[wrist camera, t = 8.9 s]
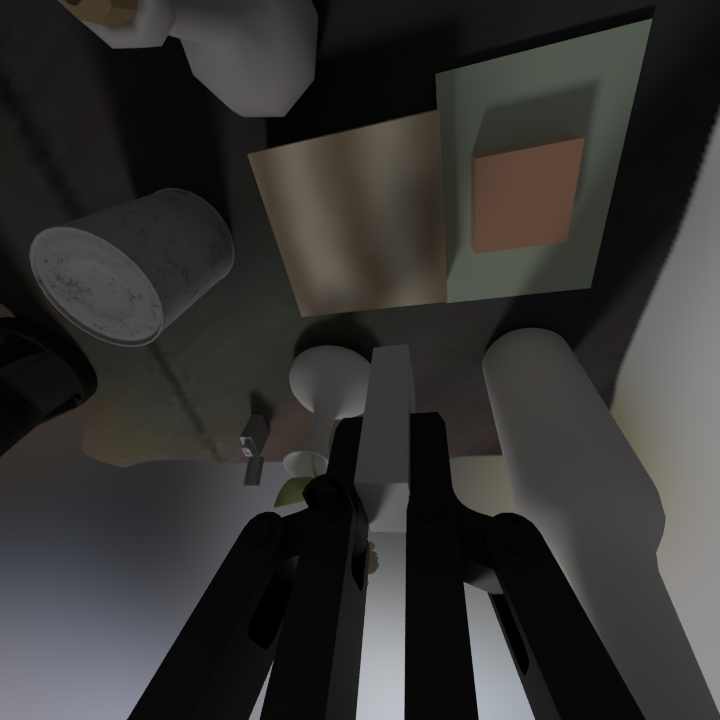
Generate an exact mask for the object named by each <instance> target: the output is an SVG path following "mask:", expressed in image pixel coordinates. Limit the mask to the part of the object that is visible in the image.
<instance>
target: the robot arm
mask: <svg viewBox="0 0 720 720" xmlns="http://www.w3.org/2000/svg"><path fill="white" fill-rule="evenodd" d="M96 389H97V380H96V377H95V374H94V372H93V370H92V368H91V367H90V365H89V364H88V362H87V361H86V360H85V359H84V357H83V356H82V355H81V354H80V353H79V352H78V351H77V350H76V349H75V348H74V347H72V346H71V345H70V344H69V343H68V342H66V341H65V340H64V339H62V338H61V337H59V336H58V335H56V334H55V333H53V332H51V331H49V330H48V329H46V328H44V327H42V326H39V325H37V324H35V323H32V322H29V321H26V320H23V319H19V318H12V317H3V318H0V457H1V456H2V455H4V454H5V453H6V452H7V451H8V450H9V449H11V448H12V447H13V446H14V445H15V444H16V443H18V442H19V441H20V440H21V439H22V438H23V437H24V436H26V435H27V434H28V433H29V432H30V431H32V430H33V429H34V428H35V427H37V426H38V425H40V424H43V423H45V422H47V421H49V420H51V419H53V418H55V417H57V416H60V415H62V414H64V413H66V412H68V411H71V410H73V409H75V408H77V407H79V406H80V405H82V404H83V403H84V402H86V401H87V400H88V399H89V398H90V397H91V396H92V395H93V394H94V393H95V391H96ZM302 495H303V497H304V499H305V501H306V503H307V505H308V508H307V509H304V510H302V511H300V512H297V513H294V514H291V515H288V516H285V517H282V518H281V516H280V515H278V514H276V513H274V512H264V513H261V514H258V515H257V516H255V517H254V518H252V519H251V520H250V521H249V522H248V524H247V525H246V526H245V527H244V529H243V531H242V532H241V534H240V535H239V537H238V539H237V540H236V542H235V543H234V545H233V547H232V548H231V550H230V552H229V553H228V555H227V557H226V558H225V560H224V561H223V563H222V565H221V566H220V568H219V570H218V571H217V573H216V575H215V576H214V578H213V580H212V581H211V583H210V585H209V586H208V588H207V590H206V591H205V593H204V594H203V596H202V598H201V599H200V601H199V603H198V604H197V606H196V608H195V609H194V611H193V613H192V614H191V616H190V617H189V619H188V621H187V622H186V624H185V626H184V627H183V629H182V631H181V632H180V634H179V636H178V637H177V639H176V640H175V642H174V644H173V645H172V647H171V649H170V650H169V652H168V653H167V655H166V657H165V659H164V660H163V662H162V663H161V665H160V667H159V668H158V670H157V672H156V673H155V675H154V677H153V678H152V680H151V681H150V683H149V685H148V686H147V688H146V690H145V691H144V693H143V695H142V696H141V698H140V699H139V701H138V703H137V704H136V706H135V708H134V709H133V711H132V713H131V714H130V716H129V718H128V719H127V720H249V717H250V715H251V713H252V710H253V708H254V705H255V703H256V701H257V698H258V696H259V694H260V691H261V689H262V686H263V684H264V681H265V679H266V677H267V674H268V672H269V670H270V667H271V665H272V663H273V666H272V670H271V674H270V678H269V683H268V687H267V691H266V695H265V699H264V703H263V707H262V712H261V716H260V720H356V709H357V697H358V685H359V674H360V662H361V650H362V638H363V627H364V615H365V603H366V590H367V579H368V568H369V556H370V548H369V542H368V540H367V537H368V527H370V529H371V531H372V532H406V611H405V612H406V613H405V619H406V620H405V623H406V624H405V719H404V720H479V719H478V710H477V700H476V691H475V683H474V673H473V664H472V656H471V647H470V637H469V628H468V619H467V610H466V601H465V593H464V583H463V582H466V583H468V584H470V585H473V586H475V587H477V588H480V589H482V590H484V591H487V592H488V595H489V598H490V600H491V603H492V605H493V608H494V611H495V613H496V616H497V619H498V622H499V624H500V627H501V629H502V632H503V635H504V638H505V640H506V643H507V645H508V648H509V651H510V653H511V656H512V659H513V661H514V664H515V667H516V669H517V672H518V675H519V677H520V680H521V683H522V685H523V688H524V690H525V693H526V696H527V699H528V701H529V704H530V706H531V709H532V712H533V715H534V717H535V720H646V719H645V717H644V715H643V714H642V712H641V710H640V708H639V707H638V705H637V703H636V701H635V699H634V698H633V696H632V694H631V692H630V691H629V689H628V687H627V685H626V683H625V682H624V680H623V678H622V676H621V675H620V673H619V671H618V669H617V668H616V666H615V664H614V662H613V660H612V659H611V657H610V655H609V653H608V652H607V650H606V648H605V646H604V644H603V643H602V641H601V639H600V637H599V636H598V634H597V632H596V630H595V628H594V627H593V625H592V623H591V621H590V620H589V618H588V616H587V614H586V612H585V611H584V609H583V607H582V605H581V604H580V602H579V600H578V598H577V597H576V595H575V593H574V591H573V589H572V588H571V586H570V584H569V582H568V581H567V579H566V577H565V575H564V573H563V572H562V570H561V568H560V566H559V565H558V563H557V561H556V559H555V557H554V556H553V554H552V552H551V550H550V549H549V547H548V545H547V543H546V541H545V540H544V538H543V536H542V534H541V533H540V531H539V530H538V529H537V528H536V526H535V525H534V524H533V523H532V522H531V521H529V520H528V519H526V518H525V517H523V516H521V515H518V514H514V513H500V514H498V515H496V516H494V517H491V516H488V515H485V514H481V513H478V512H476V511H473V510H471V509H469V508H467V507H466V506H465V505H463V504H462V503H461V502H460V501H459V500H458V499H457V497H456V495H455V493H454V491H453V487H452V480H451V471H450V463H449V454H448V445H447V436H446V427H445V422H444V420H443V419H442V417H441V416H440V414H439V413H438V412H428V413H415V389H414V382H413V375H412V368H411V361H410V354H409V347H408V344H406V345H396V346H386V347H376V348H373V355H372V362H371V368H370V375H369V382H368V389H367V396H366V403H365V410H364V416H363V417H352V418H343V419H342V421H341V422H340V424H339V425H338V426H337V428H336V431H335V435H334V439H333V444H332V448H331V453H330V457H329V462H328V466H327V470H326V474H323V475H319V476H317V477H316V478H314V479H312V480H311V481H310V482H309V483H308V484H307V485H306V486H305V489H304V491H303V493H302ZM273 660H274V662H273Z"/></svg>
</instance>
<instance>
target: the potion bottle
mask: <svg viewBox="0 0 720 720" xmlns="http://www.w3.org/2000/svg"><path fill="white" fill-rule="evenodd" d="M58 1H59V2H60V3H61V4H62V5H63V6H64V7H65V8H67V9H68V10H69V11H70V12H71V13H72V14H73V15H74V16H75V17H76V18H77V19H78V20H80V21H81V22H83V23H84V24H85V25H86V26H87V27H88V28H90V29H91V30H92V31H93V32H94V33H95V34H96V35H98V36H99V37H100V38H101V39H102V40H103V41H105V42H106V43H107V44H108V45H109V46H110V47H111V48H113V49H115V48H146V47H156V46H162V45H163V43H164V41H165V39H166V38H167V36H168V35H169V36H173V37H176V38H180V40H181V43H182V45H183V48H184V51H185V54H186V56H187V59H188V62H189V64H190V67H191V70H192V73H193V75H194V76H195V77H196V78H197V79H198V80H199V81H200V82H201V83H203V84H204V85H205V86H206V87H207V88H208V89H209V90H210V91H211V92H212V93H214V94H215V95H216V96H217V97H218V98H219V99H220V100H221V101H222V102H223V103H225V104H226V105H227V106H228V107H229V108H230V109H231V110H233V111H234V112H236V113H238V114H239V115H241V116H242V117H284V116H285V115H286V114H287V113H288V111H289V110H290V109H291V108H292V107H293V105H294V104H295V103H296V102H297V100H298V99H299V98H300V97H301V95H302V94H303V93H304V92H305V90H306V89H307V88H308V87H309V85H310V84H311V83H312V82H313V81H314V78H315V63H316V47H317V31H318V14H317V12H316V10H315V7H314V5H313V3H312V1H311V0H58Z"/></svg>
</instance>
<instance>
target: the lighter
mask: <svg viewBox="0 0 720 720" xmlns="http://www.w3.org/2000/svg"><path fill="white" fill-rule="evenodd" d="M269 434H270V431H269V429H268V426H267V424H266V422H265V420H264V418H263V416H262V415H261V414H252V415H251V417H250V419H249V421H248V423H247V425H246V427H245V428H244V430H243V432H242V434H241V436H240V440H241V441H242V443H243V447H242V450H243V452H244V454H245V455H246V456H249V460H248V465H247V470H246V474H245V479H244V486H248V487H258V486H259V484H260V478H261V473H262V467H263V462H264V458H263V457H261V456H260V454H261V452H262V449H263V447H264V445H265V443H266V440H267V438H268V436H269Z"/></svg>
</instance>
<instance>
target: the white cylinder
mask: <svg viewBox="0 0 720 720" xmlns="http://www.w3.org/2000/svg"><path fill="white" fill-rule="evenodd" d="M29 258H30V263H31V268H32V271H33V274H34V276H35V278H36V281H37V283H38V285H39V286H40V288H41V289H42V291H43V293H44V294H45V296H46V297H47V298H48V299H49V301H50V302H51V303H52V304H53V305H54V306H55V308H56V309H57V310H58V311H59V312H61V313H62V314H63V315H64V316H65V317H66V318H67V319H68V320H69V321H71V322H72V323H73V324H75V325H76V326H78V327H79V328H80V329H82V330H83V331H85V332H87V333H89V334H90V335H92V336H94V337H96V338H98V339H101V340H103V341H106V342H108V343H112V344H116V345H119V346H129V347H135V346H143V345H146V344H148V343H150V342H152V341H154V340H155V339H156V338H157V337H158V336H159V335H160V334H161V332H162V331H163V330H164V329H165V328H166V327H167V326H169V325H170V324H171V323H172V322H173V321H174V320H175V319H176V318H178V317H179V316H180V315H181V314H182V313H183V312H184V311H185V310H186V309H188V308H189V307H190V306H191V305H192V304H193V303H194V302H195V301H197V300H198V299H199V298H200V297H201V296H202V295H203V294H204V293H206V292H207V291H208V290H209V289H210V288H211V287H212V286H213V285H215V284H216V283H217V282H218V281H219V280H221V279H223V278H224V277H225V276H226V275H227V274H228V273H229V271H230V270H231V268H232V266H233V262H234V258H235V246H234V242H233V238H232V235H231V232H230V230H229V228H228V226H227V224H226V222H225V221H224V219H223V218H222V216H221V215H220V214H219V213H218V212H217V211H216V209H215V208H214V207H213V206H212V205H211V204H209V203H208V202H207V201H205V200H204V199H203V198H201V197H200V196H198V195H196V194H194V193H192V192H190V191H187V190H183V189H179V188H166V189H162V190H158V191H156V192H155V193H153V194H150V195H148V196H145V197H142V198H139V199H136V200H133V201H130V202H127V203H124V204H121V205H118V206H115V207H113V208H110V209H107V210H104V211H101V212H98V213H95V214H92V215H89V216H86V217H83V218H81V219H78V220H75V221H72V222H69V223H66V224H63V225H57V226H53V227H50V228H46V229H44V230H43V231H41V232H40V233H39V234H37V235H36V236H35V238H34V240H33V242H32V244H31V246H30V256H29Z"/></svg>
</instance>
